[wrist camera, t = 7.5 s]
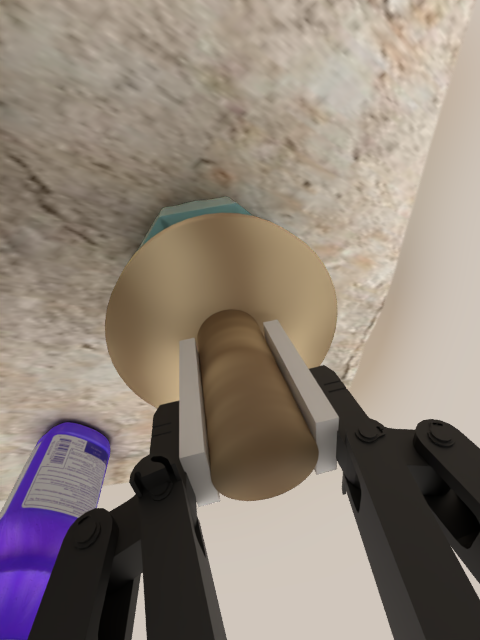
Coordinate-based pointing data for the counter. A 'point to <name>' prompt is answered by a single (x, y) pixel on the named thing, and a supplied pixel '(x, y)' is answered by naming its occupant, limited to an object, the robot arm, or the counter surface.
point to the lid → (227, 339)
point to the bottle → (45, 517)
